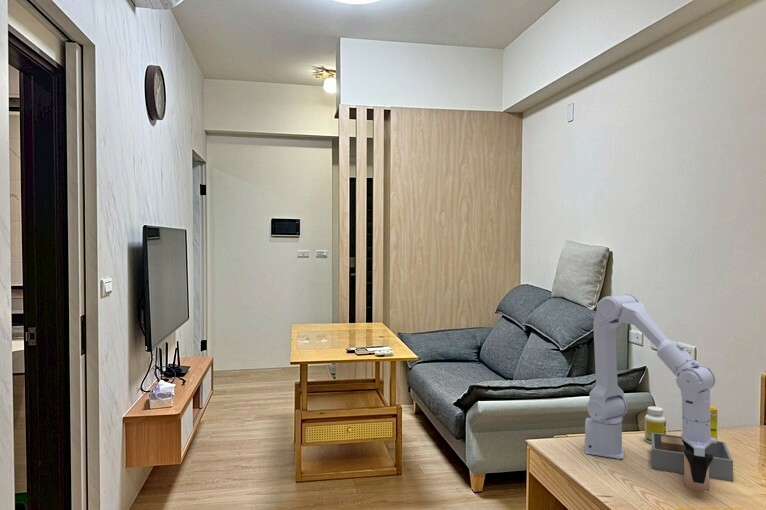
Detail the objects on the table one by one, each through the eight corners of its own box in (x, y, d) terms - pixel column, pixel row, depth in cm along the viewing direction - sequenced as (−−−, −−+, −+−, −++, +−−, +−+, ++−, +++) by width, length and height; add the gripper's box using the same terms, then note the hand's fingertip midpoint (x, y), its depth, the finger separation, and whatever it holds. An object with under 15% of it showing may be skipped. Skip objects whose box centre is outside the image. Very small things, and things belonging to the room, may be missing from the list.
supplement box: (694, 446, 146) (694, 408, 145) (687, 439, 151) (686, 402, 151) (718, 448, 144) (717, 409, 144) (709, 440, 150) (709, 403, 150)
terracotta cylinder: (685, 489, 120) (684, 459, 120) (683, 480, 125) (683, 452, 125) (710, 493, 118) (710, 463, 118) (707, 484, 123) (707, 455, 122)
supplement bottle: (668, 446, 146) (668, 411, 146) (648, 444, 147) (647, 410, 147) (662, 439, 152) (662, 405, 152) (642, 437, 153) (642, 405, 153)
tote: (652, 468, 132) (652, 449, 132) (651, 450, 143) (651, 432, 143) (733, 481, 124) (732, 460, 124) (725, 460, 136) (724, 441, 136)
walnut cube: (661, 461, 134) (661, 442, 134) (661, 454, 139) (661, 435, 139) (683, 464, 132) (683, 445, 132) (682, 457, 136) (682, 438, 136)
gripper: (720, 430, 113) (721, 492, 113) (712, 411, 126) (713, 466, 126) (683, 426, 116) (684, 486, 116) (679, 407, 129) (679, 461, 129)
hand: (696, 475), depth 121 cm, fingers open, 7 cm apart
